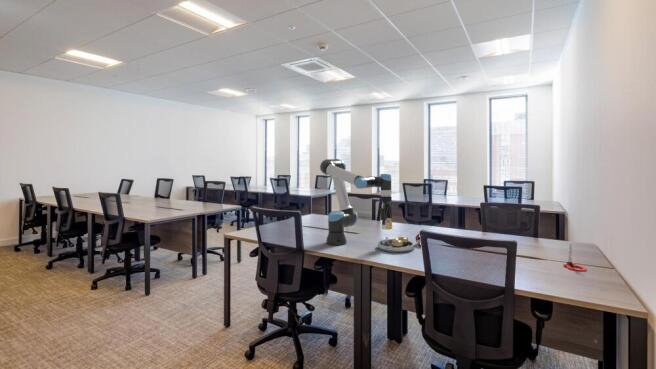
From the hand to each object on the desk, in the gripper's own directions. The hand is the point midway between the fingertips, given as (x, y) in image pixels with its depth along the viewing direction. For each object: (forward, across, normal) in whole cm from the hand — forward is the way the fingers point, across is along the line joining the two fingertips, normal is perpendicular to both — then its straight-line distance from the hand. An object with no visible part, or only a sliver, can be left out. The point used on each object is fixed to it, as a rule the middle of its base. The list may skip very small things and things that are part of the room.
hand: (386, 228), depth 227 cm
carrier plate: (+14, +1, -6) cm, 15 cm away
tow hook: (+15, +7, -106) cm, 108 cm away
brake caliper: (+14, +19, -20) cm, 31 cm away
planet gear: (0, 0, 0) cm, 0 cm away
